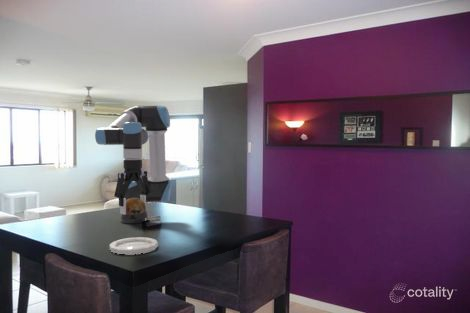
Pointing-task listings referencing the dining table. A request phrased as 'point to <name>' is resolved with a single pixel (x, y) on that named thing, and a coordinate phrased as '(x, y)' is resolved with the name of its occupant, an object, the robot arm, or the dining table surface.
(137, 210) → the bread roll
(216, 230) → the dining table surface
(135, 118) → the robot arm
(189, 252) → the dining table surface
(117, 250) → the dish
